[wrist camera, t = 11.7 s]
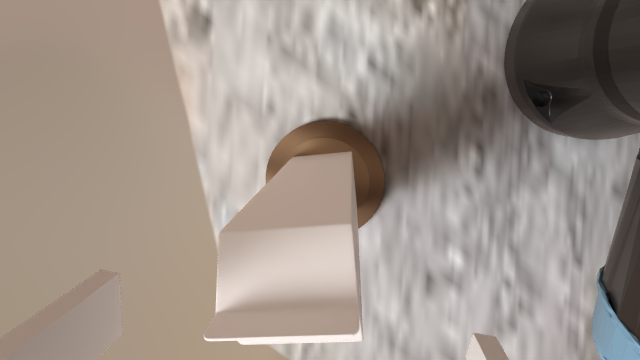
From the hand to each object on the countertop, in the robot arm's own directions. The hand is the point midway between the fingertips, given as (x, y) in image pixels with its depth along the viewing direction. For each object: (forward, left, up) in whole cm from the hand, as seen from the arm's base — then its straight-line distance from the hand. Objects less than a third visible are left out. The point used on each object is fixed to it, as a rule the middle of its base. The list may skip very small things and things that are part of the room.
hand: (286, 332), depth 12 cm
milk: (0, 0, -22) cm, 22 cm away
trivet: (0, 0, -23) cm, 23 cm away
